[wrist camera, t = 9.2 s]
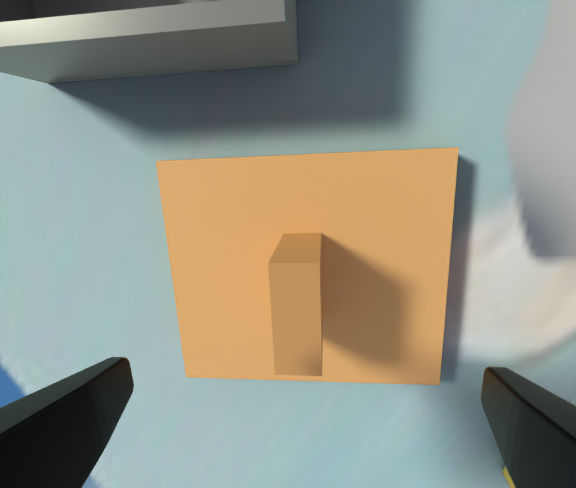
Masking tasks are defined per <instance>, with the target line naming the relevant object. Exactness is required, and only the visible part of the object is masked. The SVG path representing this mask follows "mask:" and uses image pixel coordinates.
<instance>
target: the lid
mask: <svg viewBox="0 0 576 488" xmlns="http://www.w3.org/2000/svg"><path fill="white" fill-rule="evenodd" d="M458 149H459V147H451V148H429V149H407V150H385V151H364V152H342V153H320V154H298V155H276V156H254V157H232V158H210V159H188V160H166V161H156V165H157V172H158V179H159V186H160V194H161V201H162V208H163V215H164V222H165V229H166V237H167V244H168V251H169V258H170V265H171V272H172V279H173V287H174V294H175V301H176V308H177V315H178V322H179V329H180V337H181V344H182V351H183V358H184V365H185V372H186V377H196V378H228V379H261V380H293V381H326V382H359V383H391V384H424V385H440V373H441V361H442V349H443V336H444V324H445V311H446V299H447V286H448V274H449V261H450V249H451V237H452V224H453V212H454V199H455V187H456V174H457V162H458Z"/></svg>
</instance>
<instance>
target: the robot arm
mask: <svg viewBox="0 0 576 488" xmlns="http://www.w3.org/2000/svg"><path fill="white" fill-rule="evenodd" d="M133 387H134V384H133V378H132V373H131V368H130V363H129V360H128V359H127V358H125V357H111V358H108V359H106V360H104V361H102V362H100V363H97V364H95V365H93V366H91V367H89V368H86V369H84V370H82V371H80V372H78V373H75V374H73V375H71V376H69V377H67V378H65V379H62V380H60V381H58V382H56V383H54V384H51V385H49V386H47V387H45V388H43V389H40V390H38V391H36V392H34V393H32V394H30V395H27V396H25V397H23V398H21V399H19V400H17V401H14V402H12V403H10V404H8V405H6V406H3V407H1V408H0V488H82V486H83V485H84V483H85V481H86V479H87V478H88V476H89V475H90V473H91V471H92V470H93V468H94V466H95V465H96V463H97V461H98V460H99V458H100V456H101V455H102V453H103V451H104V449H105V447H106V445H107V444H108V442H109V440H110V438H111V436H112V434H113V432H114V430H115V427H116V425H117V423H118V421H119V419H120V417H121V415H122V413H123V411H124V409H125V407H126V405H127V403H128V401H129V399H130V397H131V395H132V392H133ZM481 401H482V406H483V409H484V412H485V414H486V417H487V419H488V422H489V425H490V427H491V430H492V432H493V435H494V438H495V440H496V443H497V445H498V448H499V451H500V453H501V456H502V458H503V461H504V463H505V466H506V468H507V471H508V473H509V475H510V477H511V479H512V482H513V484H514V486H515V488H576V406H574V405H573V404H571V403H569V402H567V401H565V400H564V399H562V398H560V397H558V396H556V395H555V394H553V393H551V392H549V391H547V390H546V389H544V388H542V387H540V386H538V385H536V384H535V383H533V382H531V381H529V380H527V379H526V378H524V377H522V376H520V375H518V374H517V373H515V372H513V371H511V370H509V369H508V368H505V367H487V368H486V369H485V371H484V377H483V385H482V393H481Z"/></svg>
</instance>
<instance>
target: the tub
mask: <svg viewBox="0 0 576 488" xmlns="http://www.w3.org/2000/svg"><path fill="white" fill-rule="evenodd" d="M292 64H299V62H298V32H297V2H296V0H0V72H3V73H7V74H11V75H15V76H20V77H24V78H28V79H32V80H36V81H40V82H44V83H55V82H68V81H81V80H94V79H107V78H121V77H134V76H147V75H160V74H173V73H187V72H200V71H213V70H226V69H240V68H253V67H266V66H279V65H292Z"/></svg>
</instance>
